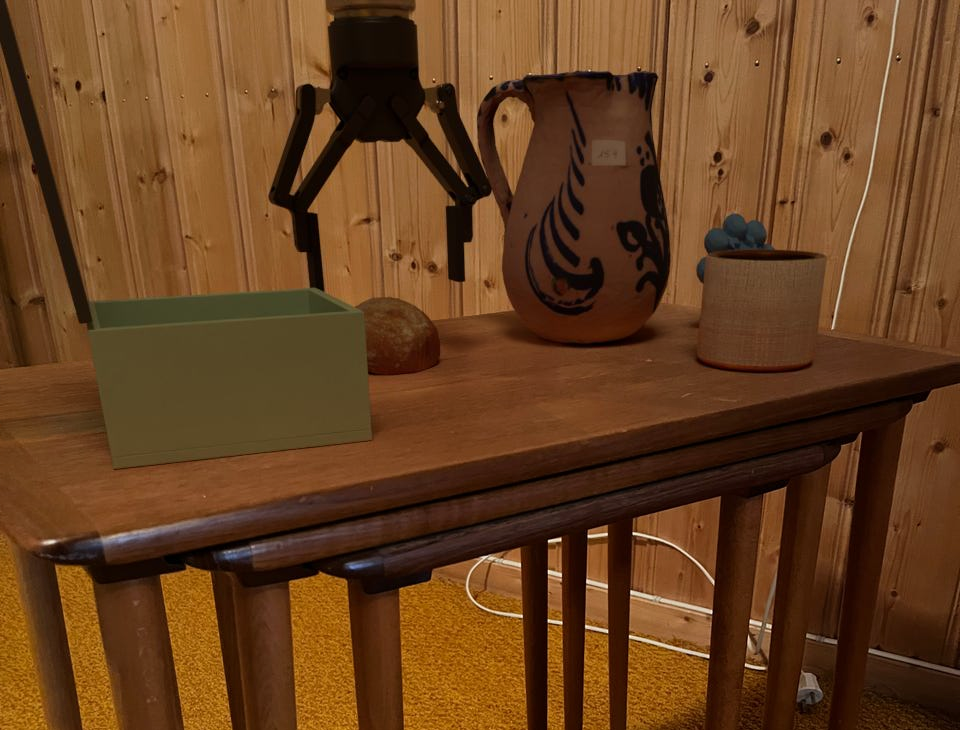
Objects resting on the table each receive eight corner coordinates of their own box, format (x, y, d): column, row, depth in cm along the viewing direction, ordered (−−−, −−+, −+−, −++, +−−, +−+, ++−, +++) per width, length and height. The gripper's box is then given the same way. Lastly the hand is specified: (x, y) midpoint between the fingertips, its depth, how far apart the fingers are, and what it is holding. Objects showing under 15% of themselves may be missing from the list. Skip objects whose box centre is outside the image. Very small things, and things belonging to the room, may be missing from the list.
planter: (820, 355, 95) (835, 250, 91) (804, 377, 87) (820, 262, 82) (709, 348, 99) (718, 247, 95) (684, 368, 91) (692, 258, 86)
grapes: (720, 337, 105) (731, 216, 100) (678, 329, 110) (687, 214, 105) (797, 327, 110) (812, 212, 105) (754, 319, 116) (766, 209, 110)
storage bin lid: (5, -1, 63) (-8, 0, 63) (-7, -39, 51) (-23, -38, 51) (86, 294, 72) (75, 296, 72) (92, 322, 60) (79, 324, 60)
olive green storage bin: (325, 398, 82) (315, 287, 78) (372, 440, 70) (364, 311, 66) (104, 419, 76) (82, 301, 72) (113, 469, 64) (87, 330, 60)
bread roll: (334, 399, 97) (299, 328, 91) (400, 341, 101) (370, 270, 96) (402, 414, 91) (369, 340, 85) (469, 352, 95) (442, 276, 89)
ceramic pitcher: (650, 356, 96) (668, 62, 85) (449, 347, 102) (441, 72, 91) (676, 328, 111) (694, 75, 100) (499, 321, 117) (498, 82, 106)
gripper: (228, 9, 75) (262, 300, 84) (526, 15, 82) (526, 280, 92) (214, 21, 81) (248, 290, 90) (492, 25, 89) (496, 272, 98)
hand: (388, 285), depth 91 cm, fingers open, 13 cm apart
